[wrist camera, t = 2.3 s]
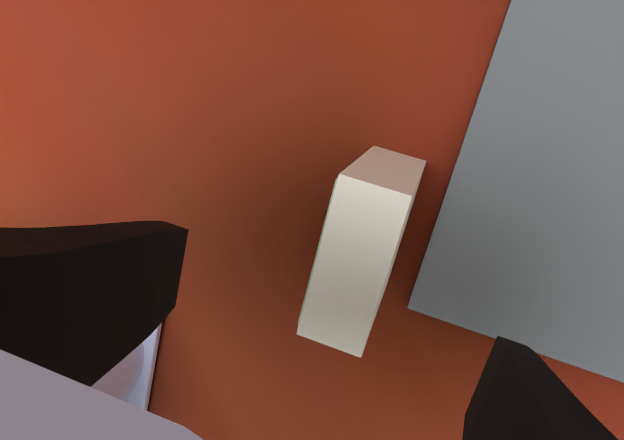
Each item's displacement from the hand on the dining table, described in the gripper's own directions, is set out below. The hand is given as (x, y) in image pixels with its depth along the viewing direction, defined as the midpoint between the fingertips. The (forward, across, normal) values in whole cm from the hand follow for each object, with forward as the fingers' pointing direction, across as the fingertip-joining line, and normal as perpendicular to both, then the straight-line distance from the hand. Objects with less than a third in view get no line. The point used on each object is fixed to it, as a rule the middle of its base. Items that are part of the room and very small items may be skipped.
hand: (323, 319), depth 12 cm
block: (+9, 0, 0) cm, 9 cm away
